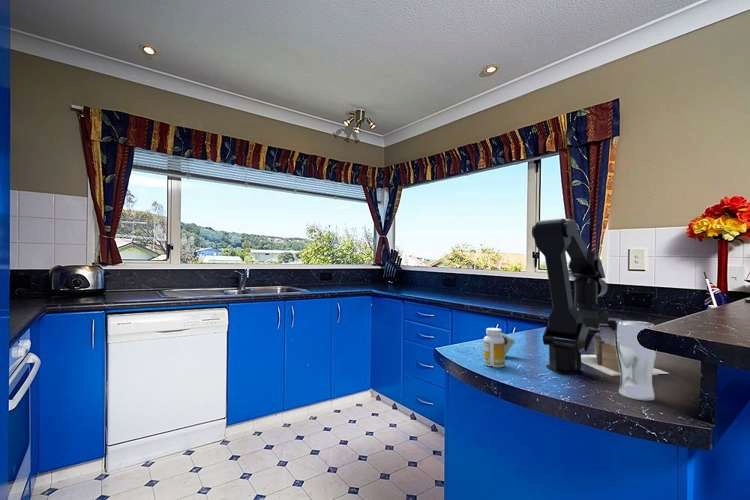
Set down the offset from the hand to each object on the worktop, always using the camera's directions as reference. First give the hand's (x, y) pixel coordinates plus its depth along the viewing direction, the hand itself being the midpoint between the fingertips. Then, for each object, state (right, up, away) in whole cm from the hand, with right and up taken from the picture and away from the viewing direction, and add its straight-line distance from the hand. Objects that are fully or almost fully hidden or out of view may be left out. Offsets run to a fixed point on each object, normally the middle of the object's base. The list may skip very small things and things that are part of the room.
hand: (585, 351), depth 103 cm
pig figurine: (-23, -2, +2) cm, 24 cm away
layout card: (+3, -1, -7) cm, 8 cm away
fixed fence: (-1, -1, -13) cm, 13 cm away
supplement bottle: (-29, -2, -7) cm, 30 cm away
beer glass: (-7, -1, -29) cm, 30 cm away
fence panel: (+2, -1, -3) cm, 4 cm away
